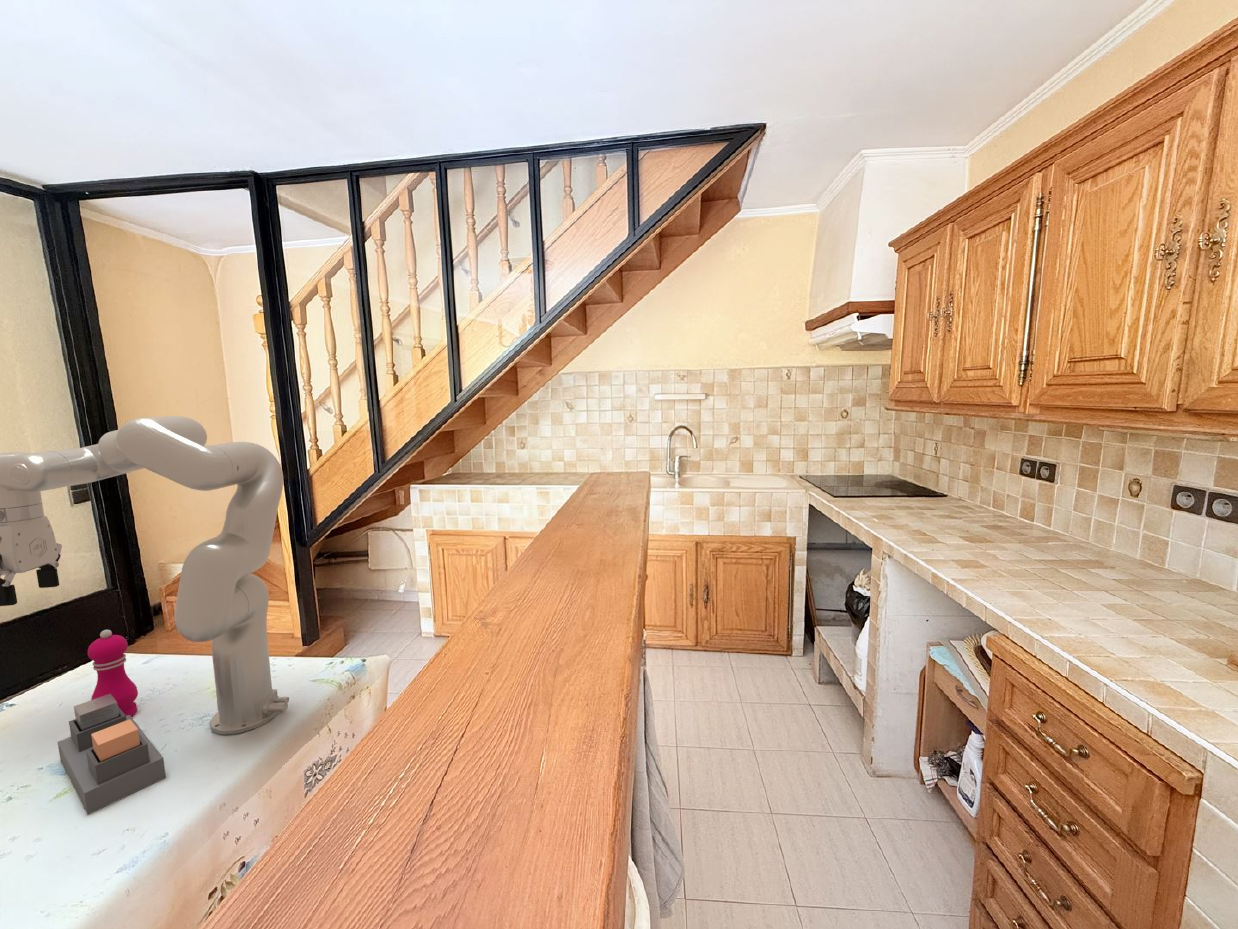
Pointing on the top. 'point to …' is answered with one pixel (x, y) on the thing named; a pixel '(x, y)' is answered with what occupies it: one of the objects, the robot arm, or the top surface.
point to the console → (108, 766)
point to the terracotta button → (115, 739)
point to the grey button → (96, 711)
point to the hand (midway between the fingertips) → (28, 595)
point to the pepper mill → (113, 671)
